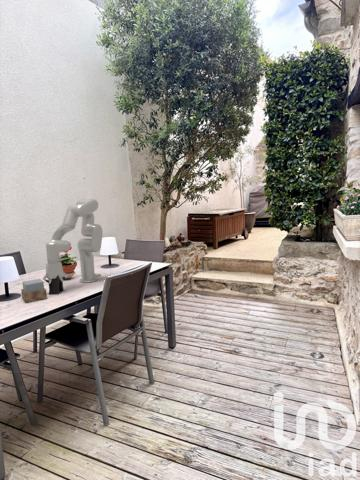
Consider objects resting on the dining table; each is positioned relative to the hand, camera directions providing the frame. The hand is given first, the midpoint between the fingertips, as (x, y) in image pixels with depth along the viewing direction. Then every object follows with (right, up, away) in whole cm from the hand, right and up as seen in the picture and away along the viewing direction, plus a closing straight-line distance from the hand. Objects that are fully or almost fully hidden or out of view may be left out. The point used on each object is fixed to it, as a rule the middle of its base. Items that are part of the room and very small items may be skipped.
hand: (56, 287), depth 196 cm
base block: (-9, -5, -11) cm, 15 cm away
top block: (-9, +1, -11) cm, 15 cm away
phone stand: (0, -3, 0) cm, 3 cm away
